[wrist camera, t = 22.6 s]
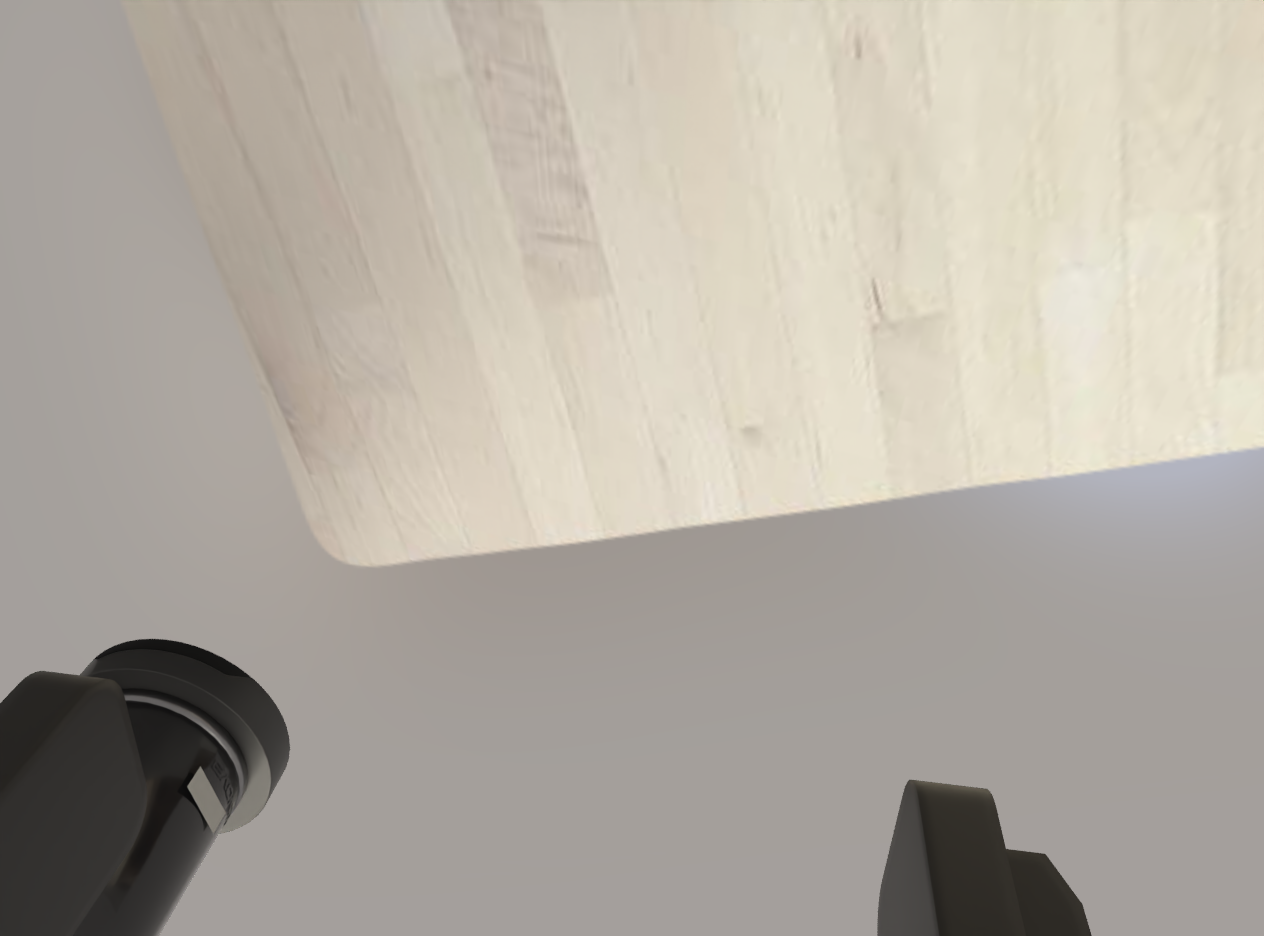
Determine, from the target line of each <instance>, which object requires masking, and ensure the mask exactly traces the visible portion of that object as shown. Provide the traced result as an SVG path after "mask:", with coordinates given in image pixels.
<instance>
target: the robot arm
mask: <svg viewBox="0 0 1264 936" xmlns="http://www.w3.org/2000/svg"><path fill="white" fill-rule="evenodd" d="M247 781H248V773H247V766H246V762H245V759H244V757H243V754H242V752H241V750H240V748H239V747H238V745H237V743H236V742H235V741H234V739H233V738H232V737H231V735H230V734H229V733H228V732H227V731H226V730H225V729H224V728H223V727H222V726H221V725H220V724H219V723H218V722H217V721H216V720H214V719H213V718H212V717H211V716H209V715H208V714H207V713H205V712H204V711H202V710H200V709H199V708H197V707H195V706H194V705H192V704H190V703H188V702H186V701H184V700H181V699H179V698H176V697H174V696H171V695H167V694H164V693H160V692H156V691H150V690H142V689H124V690H122V689H121V687H120V685H119V684H118V683H117V682H115V681H114V680H111V679H104V678H96V677H87V676H79V675H71V674H63V673H55V672H46V671H39V672H35V673H33V674H30V675H29V676H27V677H26V678H25V679H23V680H22V681H21V682H20V683H19V684H18V685H17V686H16V687H15V689H14V690H13V691H12V692H11V693H10V694H9V695H8V696H7V697H6V698H5V699H4V700H3V701H2V702H1V703H0V936H159V935H160V933H161V931H162V930H163V928H164V926H165V924H166V923H167V921H168V919H169V918H170V916H171V914H172V912H173V911H174V909H175V907H176V906H177V904H178V902H179V901H180V899H181V897H182V895H183V894H184V892H185V890H186V889H187V887H188V885H189V884H190V882H191V880H192V878H193V877H194V875H195V873H196V872H197V870H198V868H199V867H200V865H201V863H202V861H203V860H204V858H205V856H206V855H207V853H208V851H209V849H210V848H211V846H212V844H213V843H214V841H215V839H216V838H217V836H218V834H219V832H220V831H221V829H222V827H223V826H224V825H225V824H226V822H227V821H228V819H229V817H230V815H231V814H232V813H233V812H234V810H235V809H236V807H237V806H238V804H239V802H240V800H241V799H242V797H243V795H244V793H245V790H246V787H247ZM878 936H1091V932H1090V929H1089V925H1088V922H1087V919H1086V915H1085V912H1084V909H1083V905H1082V903H1081V902H1080V901H1079V899H1078V898H1077V896H1076V895H1075V894H1074V892H1073V891H1072V890H1071V888H1070V887H1069V886H1068V884H1067V883H1066V882H1065V880H1064V879H1063V878H1062V876H1061V875H1060V873H1059V872H1058V871H1057V869H1056V868H1055V867H1054V865H1053V864H1052V862H1051V861H1050V860H1049V858H1048V857H1047V856H1046V855H1045V854H1041V853H1033V852H1025V851H1017V850H1009V849H1006V848H1005V844H1004V839H1003V835H1002V831H1001V826H1000V822H999V818H998V813H997V809H996V805H995V802H994V799H993V796H992V794H991V793H990V791H989V790H988V789H983V788H974V787H966V786H958V785H950V784H942V783H933V782H925V781H917V780H909V781H908V782H907V784H906V786H905V789H904V793H903V796H902V801H901V805H900V809H899V813H898V817H897V822H896V825H895V830H894V834H893V838H892V842H891V846H890V851H889V855H888V859H887V863H886V867H885V871H884V875H883V879H882V884H881V890H880V897H879V907H878Z"/></svg>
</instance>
